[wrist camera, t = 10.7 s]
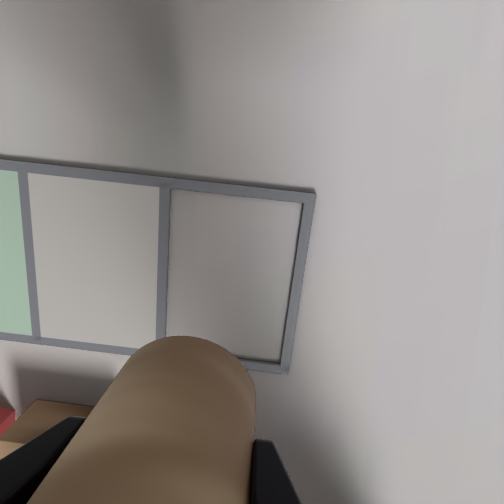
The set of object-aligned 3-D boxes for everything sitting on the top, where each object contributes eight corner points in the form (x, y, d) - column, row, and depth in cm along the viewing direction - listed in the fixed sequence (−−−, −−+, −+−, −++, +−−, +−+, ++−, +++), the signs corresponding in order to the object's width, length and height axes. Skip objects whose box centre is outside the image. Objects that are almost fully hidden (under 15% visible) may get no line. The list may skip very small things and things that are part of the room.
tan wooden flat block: (134, 411, 20) (110, 455, 17) (133, 487, 21) (112, 539, 18) (36, 399, 20) (-4, 440, 17) (43, 476, 21) (8, 525, 19)
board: (315, 193, 16) (316, 193, 16) (287, 372, 18) (288, 374, 18) (-120, 145, 16) (-124, 145, 16) (-84, 327, 19) (-88, 328, 19)
